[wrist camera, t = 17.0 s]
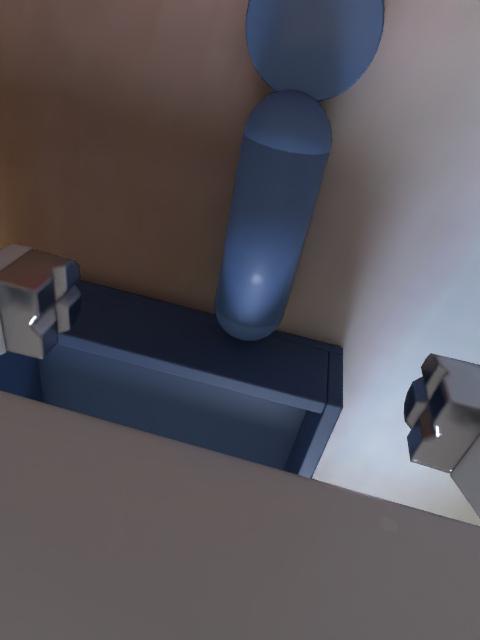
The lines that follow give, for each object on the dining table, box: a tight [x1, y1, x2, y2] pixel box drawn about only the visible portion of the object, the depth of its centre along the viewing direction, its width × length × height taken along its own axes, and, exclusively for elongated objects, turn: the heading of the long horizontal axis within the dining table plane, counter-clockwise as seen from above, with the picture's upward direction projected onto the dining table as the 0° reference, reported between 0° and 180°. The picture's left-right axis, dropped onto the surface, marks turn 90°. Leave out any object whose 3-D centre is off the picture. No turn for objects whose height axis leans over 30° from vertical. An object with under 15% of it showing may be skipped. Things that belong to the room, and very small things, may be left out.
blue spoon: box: [215, 0, 384, 341], centre depth 14 cm, size 4×12×3 cm, turn 170°
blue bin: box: [0, 280, 343, 478], centre depth 21 cm, size 14×11×4 cm
